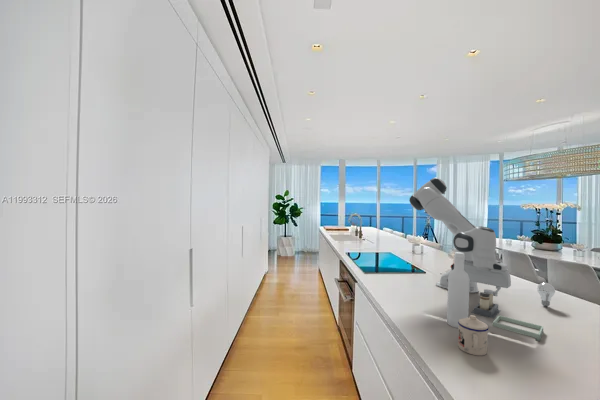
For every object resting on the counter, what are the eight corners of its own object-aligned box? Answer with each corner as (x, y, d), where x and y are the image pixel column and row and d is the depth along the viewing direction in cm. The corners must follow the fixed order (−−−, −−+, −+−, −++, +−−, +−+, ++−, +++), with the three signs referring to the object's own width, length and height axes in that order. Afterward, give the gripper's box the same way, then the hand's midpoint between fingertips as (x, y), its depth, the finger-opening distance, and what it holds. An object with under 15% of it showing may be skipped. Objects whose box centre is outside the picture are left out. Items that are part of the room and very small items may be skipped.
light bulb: (557, 309, 144) (558, 285, 144) (541, 308, 146) (542, 284, 146) (549, 304, 151) (549, 281, 151) (533, 303, 153) (534, 280, 153)
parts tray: (492, 328, 120) (492, 322, 120) (498, 320, 128) (498, 315, 128) (539, 341, 110) (539, 334, 110) (543, 332, 118) (543, 326, 118)
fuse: (482, 309, 139) (483, 290, 139) (484, 307, 142) (485, 288, 141) (491, 311, 136) (492, 292, 136) (493, 309, 139) (494, 290, 139)
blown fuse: (478, 313, 134) (479, 293, 134) (480, 311, 137) (481, 291, 137) (487, 315, 131) (488, 295, 131) (489, 313, 134) (490, 293, 134)
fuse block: (470, 314, 135) (470, 306, 135) (479, 307, 145) (479, 300, 145) (493, 320, 128) (494, 312, 128) (501, 312, 138) (501, 305, 138)
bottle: (442, 322, 125) (444, 251, 125) (456, 319, 128) (458, 250, 128) (458, 330, 118) (460, 254, 118) (472, 327, 121) (475, 254, 121)
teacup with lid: (456, 341, 108) (457, 309, 108) (484, 346, 105) (485, 313, 105) (459, 356, 97) (460, 321, 97) (492, 363, 94) (493, 326, 94)
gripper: (456, 259, 139) (455, 289, 139) (509, 267, 125) (508, 300, 125) (461, 258, 144) (460, 286, 144) (512, 265, 129) (511, 297, 129)
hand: (483, 293), depth 134 cm, fingers open, 8 cm apart
